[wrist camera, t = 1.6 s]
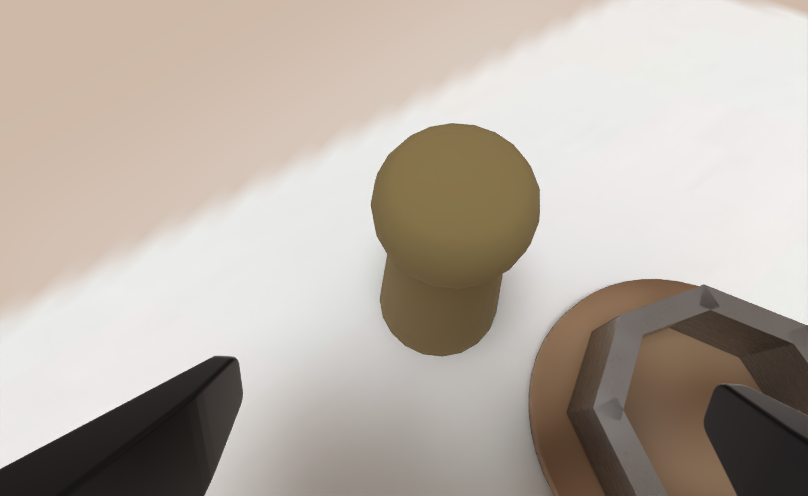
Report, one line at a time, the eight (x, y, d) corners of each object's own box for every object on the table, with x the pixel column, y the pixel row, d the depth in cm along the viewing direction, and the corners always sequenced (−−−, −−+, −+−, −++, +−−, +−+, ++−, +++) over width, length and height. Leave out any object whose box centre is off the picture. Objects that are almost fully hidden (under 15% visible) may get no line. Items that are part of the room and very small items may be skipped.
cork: (421, 225, 23) (427, 64, 13) (518, 281, 22) (606, 148, 12) (356, 312, 21) (305, 200, 11) (458, 381, 20) (503, 322, 10)
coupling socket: (906, 530, 17) (1041, 555, 13) (623, 662, 15) (687, 730, 12) (710, 254, 22) (768, 218, 19) (484, 333, 21) (499, 310, 17)
